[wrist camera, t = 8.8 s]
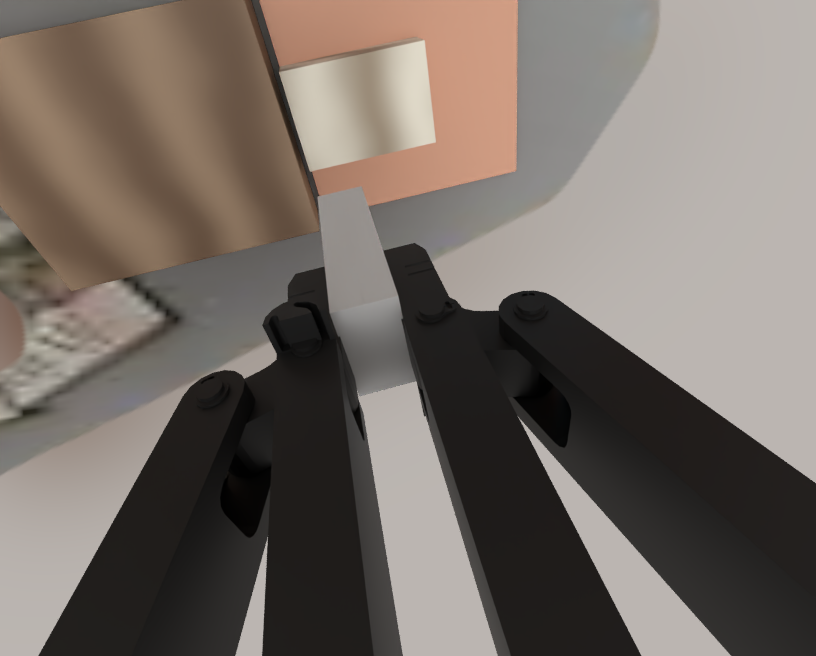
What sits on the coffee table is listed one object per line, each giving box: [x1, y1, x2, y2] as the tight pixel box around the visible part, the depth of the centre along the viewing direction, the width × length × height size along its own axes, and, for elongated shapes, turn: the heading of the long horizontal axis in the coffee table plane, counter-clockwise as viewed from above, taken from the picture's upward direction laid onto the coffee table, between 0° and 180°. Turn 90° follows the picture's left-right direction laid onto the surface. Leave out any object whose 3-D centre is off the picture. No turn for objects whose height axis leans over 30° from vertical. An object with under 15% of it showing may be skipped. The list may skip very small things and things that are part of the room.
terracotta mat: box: [259, 0, 518, 206], centre depth 30 cm, size 16×15×1 cm
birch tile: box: [279, 37, 436, 172], centre depth 28 cm, size 9×6×2 cm, turn 99°
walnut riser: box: [0, 0, 319, 291], centre depth 27 cm, size 18×14×4 cm
